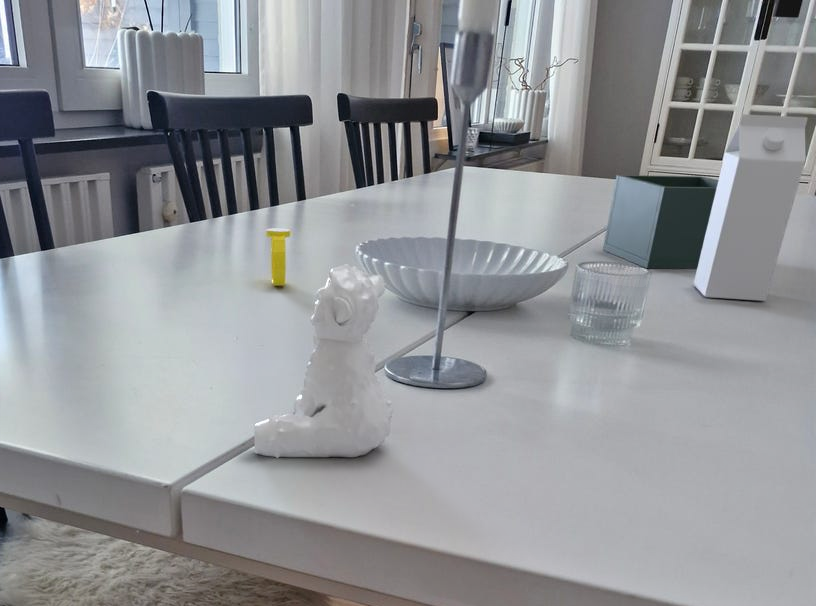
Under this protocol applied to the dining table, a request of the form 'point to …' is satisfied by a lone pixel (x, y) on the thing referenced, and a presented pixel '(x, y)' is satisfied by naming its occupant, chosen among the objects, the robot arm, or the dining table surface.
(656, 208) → the box
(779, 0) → the robot arm
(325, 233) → the dining table surface
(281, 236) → the yellow capped post
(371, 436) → the white creature statuette
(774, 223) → the milk carton
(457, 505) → the dining table surface
